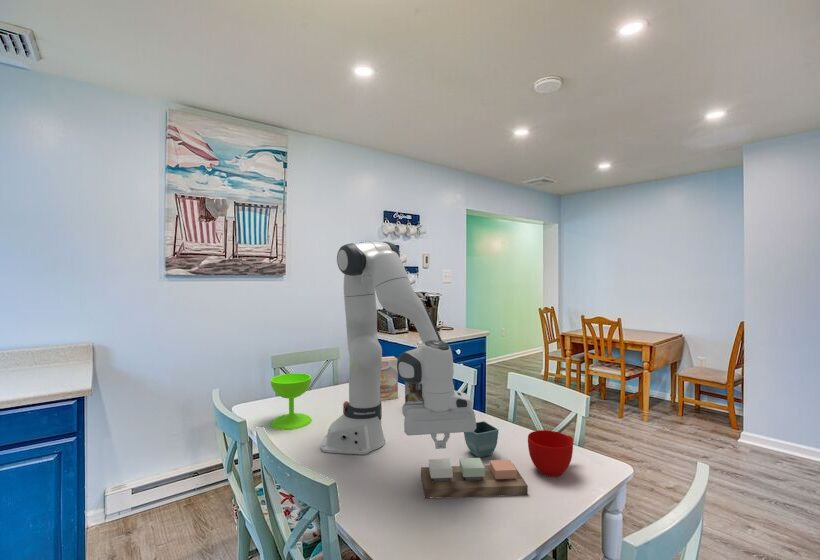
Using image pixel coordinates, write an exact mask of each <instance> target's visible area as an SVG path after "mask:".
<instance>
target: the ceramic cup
mask: <svg viewBox="0 0 820 560" xmlns="http://www.w3.org/2000/svg"><path fill="white" fill-rule="evenodd" d="M527 446H528V452H529V453H528V454H529V458H530V460H531V461H532V464H533V466H534V467H535V468H536V469H537V470H538V472H539V473H540V474H542V475H543V476H547V477H551V478H552V477H553V478H556V477H561V476H562V474H563V473H565V471H566V470H567V469H568V468H569V467H570V464H571V462H572V458H573V452H574V438H573V437H572V436H571V435H567V434H564V433H562V432H558V431H555V430H554V431H553V430H548V429H547V430H546V429H545V430H544V429H542V430H541V429H540V430H535V431H531V432H530V433H528V435H527Z"/></svg>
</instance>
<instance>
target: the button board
mask: <svg viewBox="0 0 820 560" xmlns="http://www.w3.org/2000/svg"><path fill="white" fill-rule="evenodd" d="M483 465H484V467H485V477H481V480H477V481H465V480H464V477H463V475H462V472H461V469H460V467H459V465H454V466H453V465H451V466H452V469H453V478H449V481H448V482H433V481H432V478H431V476H430V471H429V466H425V467H424V466H423V467H421V466H420V467H421V468H420V477H421V485H422V490H423V495H424V496H425V497H424V499H431V498H430V497H434V498H433V499H437V498H436V497H444V498H443V499H445V497H452V498H473V497H474V498H475V496H476V497H477V496H479V497H498V496H499V495H500V496H499V497H502V496H501V495H507V496H526V495H527V496H528V495H529V493H528V491H529V489H528V484H527V482H526V481H525V479H524V478H523V477H522V474H520V472H519V470H518V468H517V467H516V466H515V464H514V463H513V465H514V466H515V468H516V470H517V478H516V479H506V480H497V479H495V477H494V475H493V473H492V472H491V470H490V464H483Z"/></svg>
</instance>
